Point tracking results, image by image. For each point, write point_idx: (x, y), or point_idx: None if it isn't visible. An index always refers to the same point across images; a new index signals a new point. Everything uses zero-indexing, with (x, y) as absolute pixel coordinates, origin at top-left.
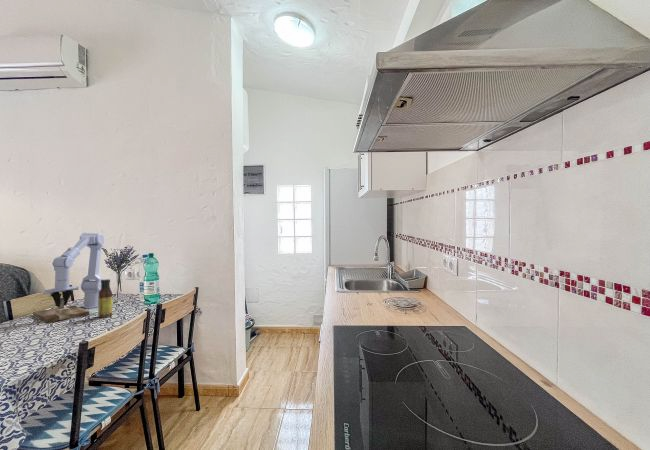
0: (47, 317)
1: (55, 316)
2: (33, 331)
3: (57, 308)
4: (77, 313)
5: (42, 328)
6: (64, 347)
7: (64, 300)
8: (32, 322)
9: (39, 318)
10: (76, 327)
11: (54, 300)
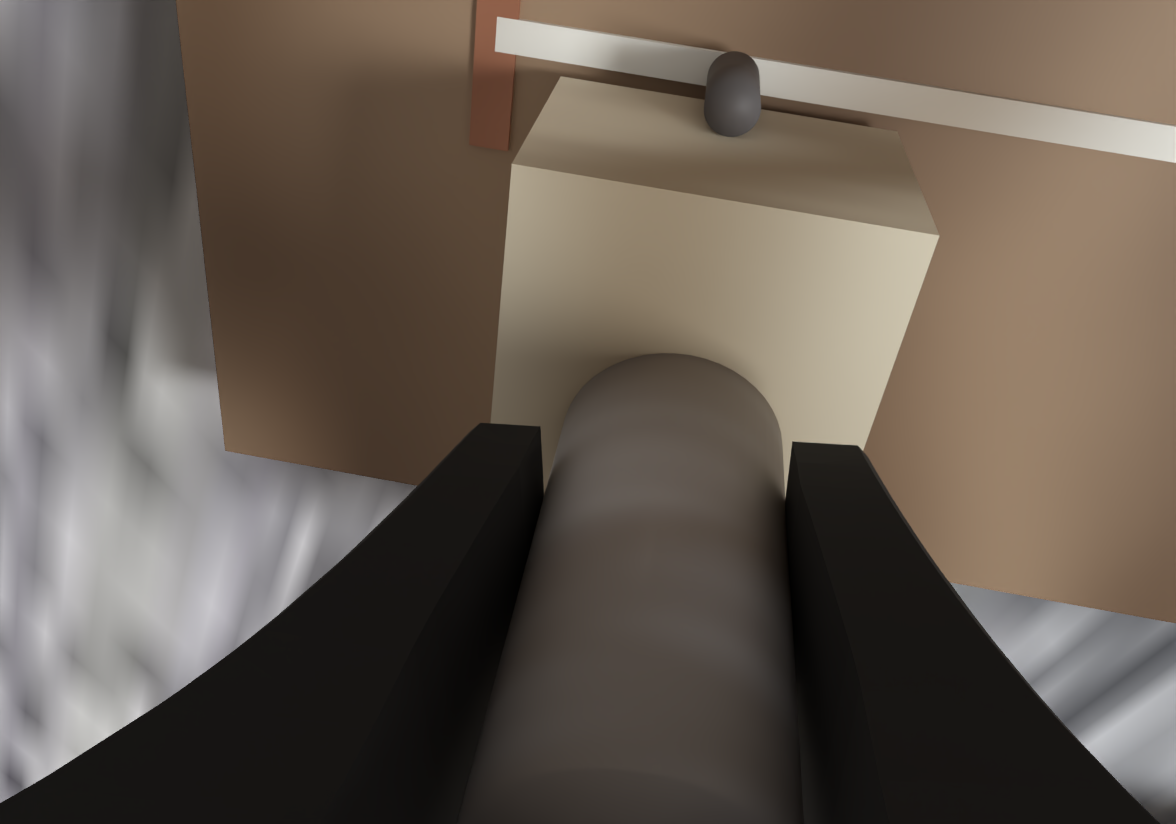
0: (278, 341)
1: (470, 413)
2: (6, 705)
3: (550, 400)
4: (1003, 591)
5: (139, 675)
6: None
7: (807, 757)
8: (8, 11)
9: None
10: None
11: (291, 632)
